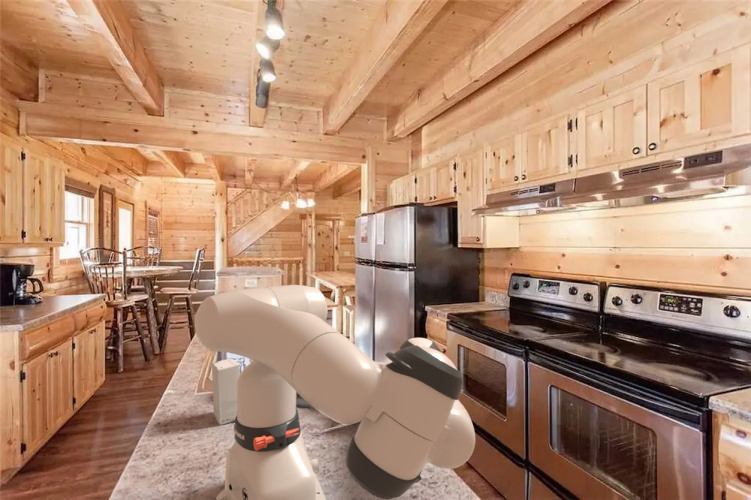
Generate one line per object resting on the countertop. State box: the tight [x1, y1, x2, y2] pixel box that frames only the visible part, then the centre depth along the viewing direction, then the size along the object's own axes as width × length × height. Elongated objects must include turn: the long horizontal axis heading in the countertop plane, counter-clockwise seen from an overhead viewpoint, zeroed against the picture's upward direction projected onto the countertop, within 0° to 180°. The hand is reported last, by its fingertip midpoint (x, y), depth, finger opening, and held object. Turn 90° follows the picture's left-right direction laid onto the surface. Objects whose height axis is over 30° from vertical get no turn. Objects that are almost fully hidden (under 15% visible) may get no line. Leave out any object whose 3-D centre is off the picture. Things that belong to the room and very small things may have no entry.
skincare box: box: [211, 358, 241, 426], centre depth 103 cm, size 8×6×15 cm
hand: (347, 377), depth 108 cm, fingers open, 8 cm apart
